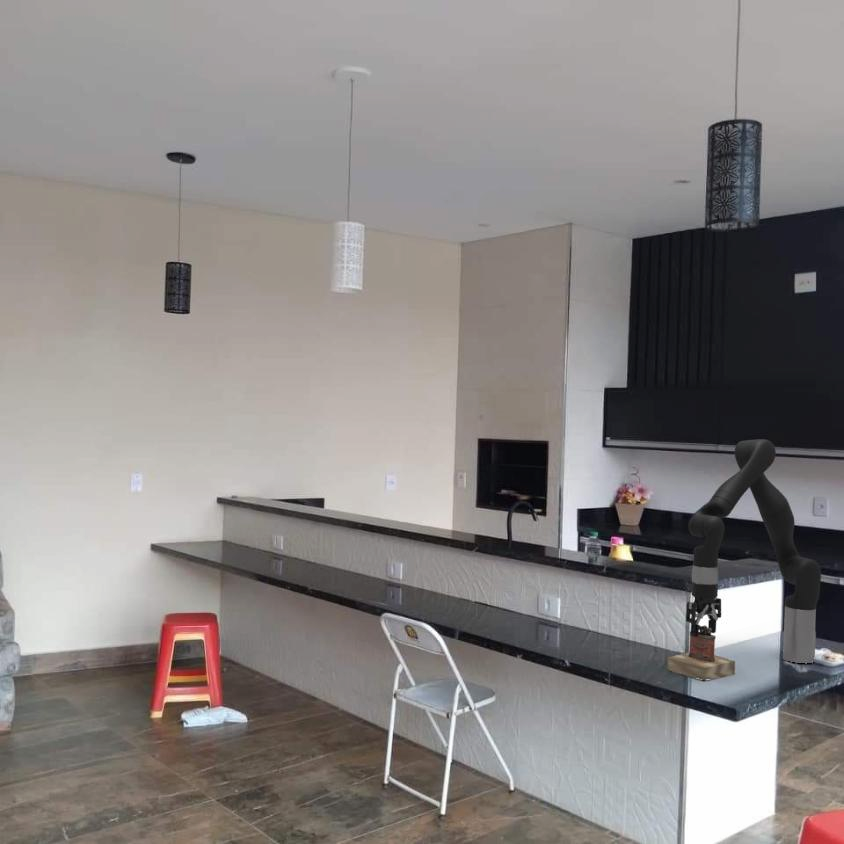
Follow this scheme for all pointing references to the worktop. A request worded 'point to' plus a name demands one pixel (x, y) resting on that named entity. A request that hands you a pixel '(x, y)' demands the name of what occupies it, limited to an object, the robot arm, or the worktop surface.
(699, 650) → the lighter
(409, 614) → the worktop surface
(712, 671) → the dock
